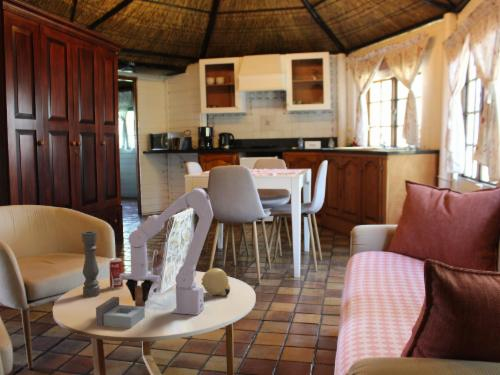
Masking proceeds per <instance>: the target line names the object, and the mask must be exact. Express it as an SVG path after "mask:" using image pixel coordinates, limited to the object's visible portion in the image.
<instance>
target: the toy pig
mask: <svg viewBox="0 0 500 375" xmlns="http://www.w3.org/2000/svg"><path fill="white" fill-rule="evenodd" d="M201 286H203V289H204V290H205V291H206V292H207V294H206V295H207V296H208V297H210V296H221V297H222V296H223V297H224V296H227V295H230V291H231V285H230V284H229V277H228V275H227V273H226V272H225V271H224V270H223V269H221V268H218V267H213V268H211V269H209V270H207V271H206V272H205V273H204V274H203V276H202V278H201Z"/></svg>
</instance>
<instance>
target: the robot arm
mask: <svg viewBox="0 0 500 375" xmlns="http://www.w3.org/2000/svg"><path fill="white" fill-rule="evenodd" d="M189 208H191V209H193V211H195V213H196V215H197V216H198V222H197V224H196V227H195V230H194V233H193V235H192V239H191V241H190V244H189V247H188V250H187V253H186V256H185V259H184V261H183V264H182V266H181V267H180V268H179V269H178V272H177V274H176V276H175V283H176V284H175V308H174V309H173V311H172V312H171V313H172V314H181V315H193V316H198V315H199V314H200V313H201V312H202V311H203V309H205V306H204V304H205V303H204V301H205V300H204V287H201V286H198V285H197V283H196V282H195V277H196V276H197V272H196V267H197V265H198V261H199V259H200V255H201V253H202V250H203V247H204V245H205V241H206V238H207V236H208V233H209V230H210V227H211V225H212V222H213V218H214V211H213V206H212V204H211V199H210V196H209V195H208V193H207V191H206V190H205V189H203V188H201V187H195V188H193V189H191V190H190V192H189V191H188V192H186V193H185V194H183V195H181V196H180V197H179V198H177V199H176V200H175V201H174V202H172V204H170V205H169V206H168V207H167V208H165V210H163V211H162V212H160V214H152V215H149V216H147V218H146V221H144V222H143V223H142V224H140V225H139V224H138V225H137V226H136V229H134V230H133V231H132V232H131V233H130V234H129V236H128V243H129V245H130V273H122V274H120V280H123V281H126V282H125V286H126V287H127V288H128V290H129V293H130V296H131V299H132V301H133V302H135V286H138V285H139V284H138V282H139V281H141V283H140V285H141V286H142V290H143V302H145V303H146V302H147V301H148V299H149V294H150V291H151V287H152V286H153V283H159V282H160V281H161V280H160V277H161V276H160V275H156V274H152V273H148V272H149V271H148V250H147V249H148V248H147V242H148V240H149V239H152V238H153V237H154V236H155V235H157V234H158V233H159V232H160V231H161V230H162V229H164V228H165V222H167V221H168V220H169V219H171V218H172V217H173V216H174V215H175V214H177V213H178V212H179V211H180V210H185V209H189ZM142 281H143V282H142Z"/></svg>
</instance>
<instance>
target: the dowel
mask: <svg viewBox="0 0 500 375" xmlns="http://www.w3.org/2000/svg"><path fill="white" fill-rule="evenodd" d="M134 306H139V307H146V302H143V290H142V286H141V284H137V286H135V301H134Z"/></svg>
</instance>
